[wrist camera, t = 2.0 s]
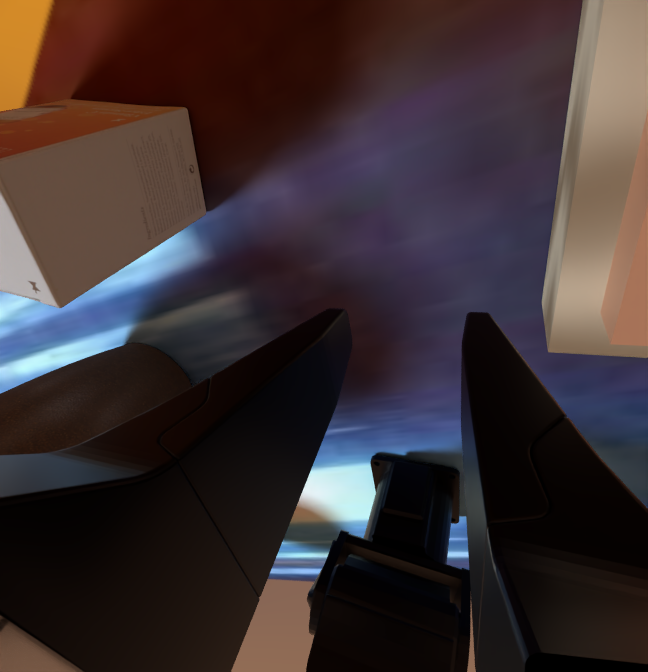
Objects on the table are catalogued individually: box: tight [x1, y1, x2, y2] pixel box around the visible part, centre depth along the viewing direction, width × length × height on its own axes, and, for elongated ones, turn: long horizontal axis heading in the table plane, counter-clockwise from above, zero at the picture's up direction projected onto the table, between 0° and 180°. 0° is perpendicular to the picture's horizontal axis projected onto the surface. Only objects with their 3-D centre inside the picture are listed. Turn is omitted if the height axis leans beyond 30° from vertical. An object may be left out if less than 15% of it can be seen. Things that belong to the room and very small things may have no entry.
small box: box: [0, 99, 206, 308], centre depth 19 cm, size 8×6×10 cm
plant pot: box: [0, 343, 192, 455], centre depth 29 cm, size 15×15×16 cm
